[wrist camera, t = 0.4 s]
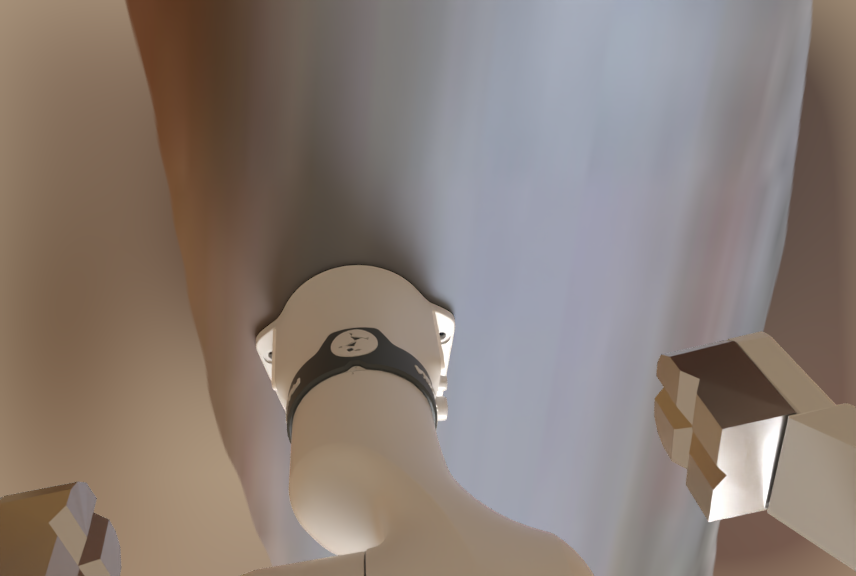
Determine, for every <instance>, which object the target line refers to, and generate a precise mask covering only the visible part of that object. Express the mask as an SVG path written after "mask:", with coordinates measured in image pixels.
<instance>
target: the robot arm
mask: <svg viewBox="0 0 856 576" xmlns="http://www.w3.org/2000/svg"><path fill="white" fill-rule="evenodd" d="M454 331H455V318H454V316H453V315H452V313H450V312H449V311H447V310H446V309H444V308H442V307H439V306H437V305H435V304H432V303H430V302H429V301H428V300H426V299H425V298H424V297H423V296H422V295H421V293H420V292H419V291H418V290H417V289H416V288H415V287H414V286H413V285H412V284H411V283H410V282H408V281H407V280H405V279H404V278H402V277H401V276H399V275H397V274H395V273H393V272H391V271H388V270H385V269H382V268H378V267H373V266H366V265H351V266H342V267H337V268H334V269H330V270H327V271H325V272H322V273H320V274H318V275H316V276H314V277H312V278H311V279H309V280H308V281H306V282H305V283H304V284H303V285H301V286H300V287H299V288H298V289H297V290H296V291H295V292H294V293H293V295H292V296H291V297H290V299H289V300H288V302H287V304H286V305H285V307H284V309H283V311H282V313H281V314H280V316H279V317H278V318H277V319H276V320H275V321H274V322H272V323H271V324H270V325H268V326H267V327H266V328H264V329H263V330H262V331H261V332H260V333H259V334H258V335H257V337H256V349H257V352H258V354H259V356H260V358H261V360H262V363H263V365H264V367H265V369H266V371H267V373H268V376H269V378H270V380H271V382H272V388H273V389H274V390H275V391H276V393H277V395H278V397H279V399H280V402H281V404H282V406H283V408H284V410H285V413H286V423H287V433H288V437H289V440H290V443H291V456H290V474H289V498H290V503H291V506H292V509H293V512H294V514H295V516H296V518H297V520H298V521H299V523H300V524H301V526H302V527H303V528H304V529H305V530H306V531H307V532H308V533H309V534H310V536H312V537H313V538H314V539H315V540H316V541H317V542H318V543H319V544H320V545H322V546H323V547H324V548H326V549H327V550H329V551H330V552H332V553H334V554H336V555H338V556H332V557H327V558H321V559H315V560H309V561H304V562H298V563H292V564H286V565H280V566H275V567H269V568H263V569H257V570H253V571H251V572H248V573H246V574H243V575H240V576H594V574H593V573H592V571H591V570H590V568H589V567H588V565H587V564H586V563H585V561H584V560H583V559H582V558H581V557H580V556H579V554H578V553H577V552H576V551H575V550H574V549H573V548H572V547H570V546H569V545H568V544H567V543H566V542H565V541H563V540H562V539H560V538H559V537H557V536H556V535H555V534H553V533H550V532H547V531H543V530H539V529H536V528H532V527H529V526H527V525H524V524H521V523H519V522H516V521H513V520H511V519H509V518H507V517H505V516H503V515H501V514H499V513H497V512H496V511H494V510H492V509H490V508H489V507H487V506H486V505H484V504H483V503H481V502H480V501H479V500H477V499H476V498H474V497H473V496H472V495H471V494H470V493H468V492H467V491H466V490H465V489H464V488H463V487H462V486H461V485H460V484H459V483H458V482H457V481H456V480H455V479H454V478H453V476H452V475H451V473H450V471H449V470H448V467H447V465H446V462H445V459H444V456H443V454H442V451H441V447H440V444H439V441H438V437H437V433H436V429H437V424H438V421H444V420H446V418H447V399H446V397H444V396H443V391H446V389H447V377H446V375H447V369H448V364H449V358H450V353H451V347H452V342H453V337H454ZM440 332H444V334H443V335H441V336H440V334H439V333H440ZM270 352H272V355H271V354H270ZM656 376H657V378H658V379H659V381H660V382H661V384H662V385H663V389H662V390H661V391H660V392H659V394H658V395H657V396H656V397H655V402H654V418H655V422H656V427H657V432H658V435H659V438H660V440H661V442H662V445H663V447H664V449H665V451H666V452H667V454H668V456H669V458H670V459H671V461H673V462H675V463H676V464H678V465H680V466H682V467H684V468H686V469H687V478H686V486H687V487H688V489H689V491H690V492H691V494H692V495H693V497H694V499H695V500H696V502H697V504H698V505H699V507H700V508H701V510H702V512H703V513H704V515H705V517H706V518H707V520H708V521H709V522H710V521H715V520H720V519H724V518H729V517H734V516H739V515H743V514H748V513H753V512H758V511H763V510H768V511H767V513H769V514H770V515H772V516H773V517H775V518H776V519H778V520H779V521H781V522H782V523H784V524H785V525H787V526H788V527H790V528H791V529H793V530H794V531H796V532H797V533H799V534H800V535H802V536H803V537H805V538H806V539H808V540H809V541H811V542H812V543H814V544H815V545H817V546H818V547H820V548H821V549H823V550H824V551H826V552H827V553H829V554H831V555H832V556H833V557H835V558H836V559H838V560H839V561H841V562H842V563H844V564H845V565H847V566H849V567H850V568H851V569H853V570H855V571H856V407H854V406H852V405H850V404H847V403H845V404H840V405H835V403H834V402H833V401H832V400H831V399H830V398H829V397H828V396H827V395H826V394H825V393H824V392H823V391H822V390H821V389H820V388H819V387H818V385H817V384H816V383H815V382H814V381H813V380H812V379H811V378H810V377H809V376H808V375H807V374H806V373H805V372H804V371H803V370H802V369H801V368H800V367H799V365H798V364H797V363H796V362H795V361H794V360H793V359H792V358H791V357H790V356H789V355H788V354H787V353H786V352H785V351H784V350H783V349H782V348H781V346H780V345H779V344H778V343H777V342H776V341H775V340H774V339H773V338H772V337H771V336H770V335H768V334H766V333H764V332H762V331H761V332H757V333H752V334H748V335H744V336H739V337H735V338H731V339H728V340H723V341H719V342H714V343H710V344H705V345H701V346H697V347H692V348H688V349H683V350H679V351H674V352H670V353H666V354H661V356H660V358H659V360H658V362H657V373H656ZM96 499H97V498H96V497H95V495H94V494H93V492H92V491H91V489H90V488H89V486H88V485H87V483H84V482H74V483H69V484H64V485H58V486H53V487H48V488H42V489H38V490H32V491H27V492H22V493H17V494H11V495H6V496H4V497H1V498H0V576H120V572H121V555H120V545H119V541H118V538H117V535H116V531H115V530H114V528H113V526H112V524H111V522H110V521H109V520H108V519H107V518H104V517H102V516H100V515H98V514H96V513H94V512H93V511H94V507H95V503H96Z"/></svg>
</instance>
